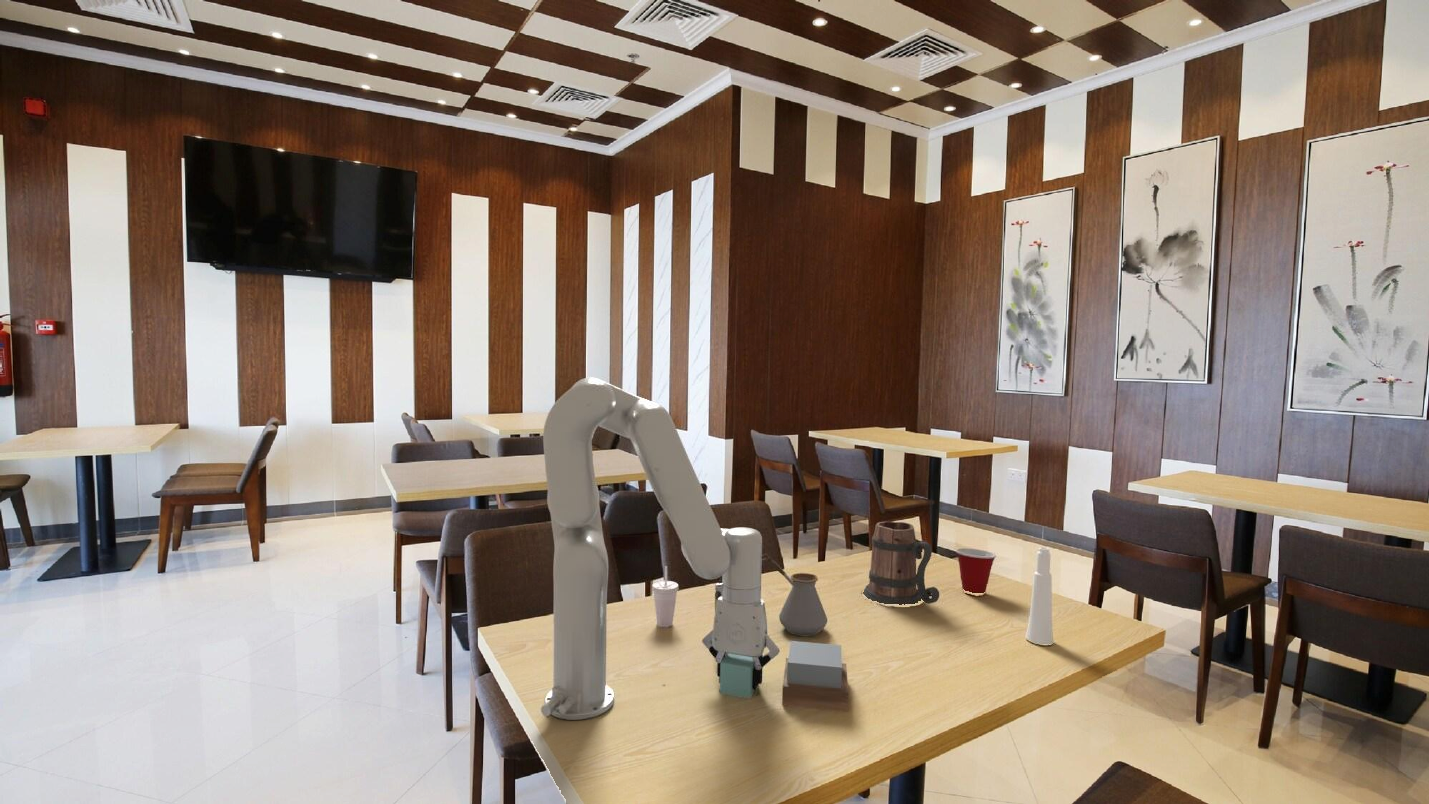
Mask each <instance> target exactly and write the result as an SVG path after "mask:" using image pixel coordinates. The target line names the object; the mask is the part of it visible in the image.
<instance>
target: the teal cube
mask: <svg viewBox="0 0 1429 804" xmlns="http://www.w3.org/2000/svg"><path fill="white" fill-rule="evenodd" d="M753 669H754V662H753V659H752V657H748V656H742V655H736V654H730V653H726V655H725V657H724V659H723V660H722V661H721V663H720V683H719V694H724V695H729V696H734V697H735V696H736V697H740V698H745V699H751V698H752V696H753V694H754V692H755V690H753V689H752V678H753Z"/></svg>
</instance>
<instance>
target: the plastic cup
mask: <svg viewBox="0 0 1429 804" xmlns="http://www.w3.org/2000/svg"><path fill="white" fill-rule="evenodd" d="M955 553H956V555H957V561H958V565H959V573H960V574H959V575H960V581H961V586H962V587H961V588H962V590H963V589H964V590H965V591H969V592H972V593H984V592H985V593H986V591H987V586H988V584H989V580H990V575H991V570H992V566H993V563H994V560H995V559H996V557H997V554H996V553H995V552H991V551H988V550H984V549H983V550H982V549H978V548H965V547H963V548H961V547H960V548H955Z"/></svg>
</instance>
